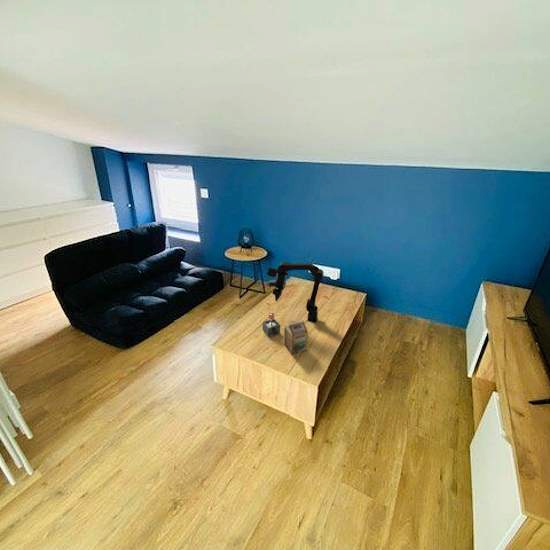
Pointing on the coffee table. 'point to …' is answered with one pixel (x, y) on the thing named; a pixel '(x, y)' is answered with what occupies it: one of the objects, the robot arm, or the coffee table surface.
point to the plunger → (271, 316)
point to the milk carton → (296, 337)
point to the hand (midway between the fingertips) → (277, 297)
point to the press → (271, 328)
